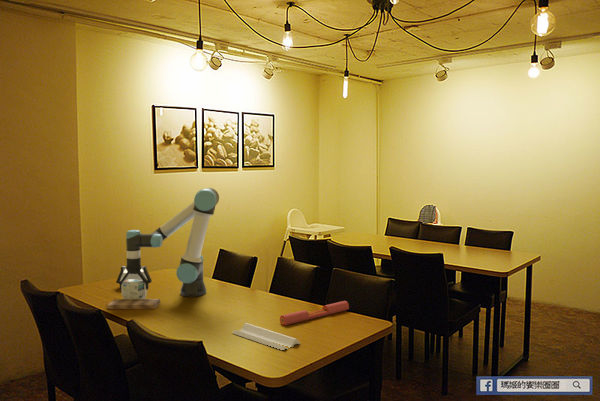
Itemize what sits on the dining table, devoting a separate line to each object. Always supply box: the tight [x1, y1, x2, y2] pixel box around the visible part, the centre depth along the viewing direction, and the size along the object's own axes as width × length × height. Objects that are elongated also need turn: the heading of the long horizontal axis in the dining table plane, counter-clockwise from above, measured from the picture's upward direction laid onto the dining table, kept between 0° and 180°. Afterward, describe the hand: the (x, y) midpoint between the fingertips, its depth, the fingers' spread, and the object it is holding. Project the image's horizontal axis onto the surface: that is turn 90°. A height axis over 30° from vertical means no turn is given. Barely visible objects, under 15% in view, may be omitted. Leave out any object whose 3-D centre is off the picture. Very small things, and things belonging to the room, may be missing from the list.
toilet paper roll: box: [120, 269, 147, 281], centre depth 303 cm, size 16×15×11 cm
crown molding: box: [232, 322, 301, 351], centre depth 216 cm, size 31×12×4 cm, turn 50°
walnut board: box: [107, 298, 161, 310], centre depth 263 cm, size 25×11×2 cm, turn 92°
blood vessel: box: [279, 300, 350, 327], centre depth 247 cm, size 42×5×5 cm, turn 128°
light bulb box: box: [122, 279, 147, 299], centre depth 274 cm, size 11×7×11 cm, turn 71°
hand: (134, 295), depth 275 cm, fingers closed on light bulb box, 12 cm apart
